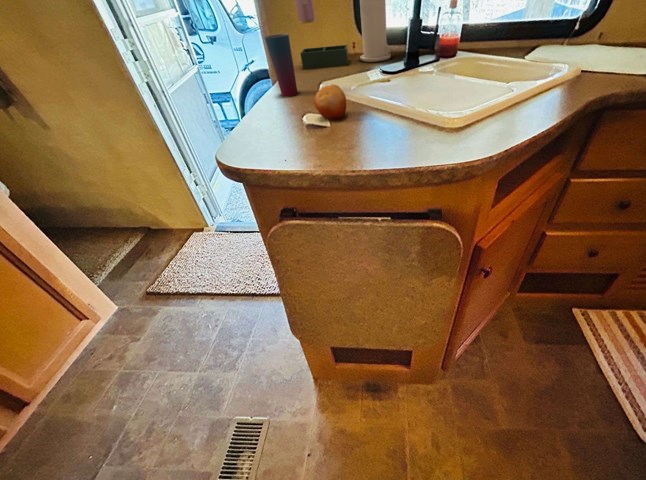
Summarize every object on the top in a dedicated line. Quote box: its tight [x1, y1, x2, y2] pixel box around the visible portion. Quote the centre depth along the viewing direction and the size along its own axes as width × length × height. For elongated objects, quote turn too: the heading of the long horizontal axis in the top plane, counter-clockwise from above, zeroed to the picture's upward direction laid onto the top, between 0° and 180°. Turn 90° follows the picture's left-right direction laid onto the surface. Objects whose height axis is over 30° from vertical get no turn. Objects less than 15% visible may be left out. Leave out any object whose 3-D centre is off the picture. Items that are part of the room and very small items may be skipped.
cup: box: [264, 32, 298, 98], centre depth 94 cm, size 7×7×15 cm
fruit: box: [313, 84, 347, 120], centre depth 79 cm, size 8×8×8 cm
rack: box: [299, 44, 350, 70], centre depth 125 cm, size 18×9×5 cm, turn 90°
